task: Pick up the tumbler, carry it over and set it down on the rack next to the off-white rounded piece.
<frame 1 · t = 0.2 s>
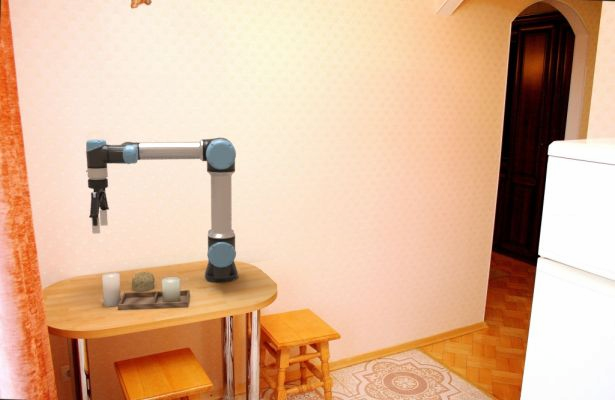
hand: (100, 229, 215), 27 cm above the table, fingers open, 13 cm apart
off-white rounded piece: (171, 301, 209), point 1 cm above the table, touching rack
tumbler: (112, 303, 209), on the table
decorative item: (143, 290, 224), on the table
rack: (155, 304, 208), on the table
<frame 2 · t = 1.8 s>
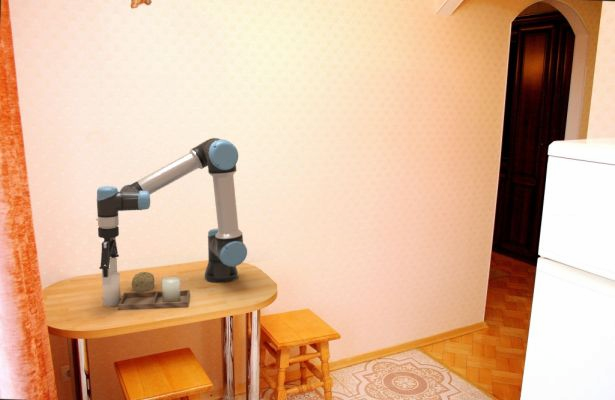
hand: (110, 278, 206), 10 cm above the table, fingers open, 13 cm apart
nothing on the table moved.
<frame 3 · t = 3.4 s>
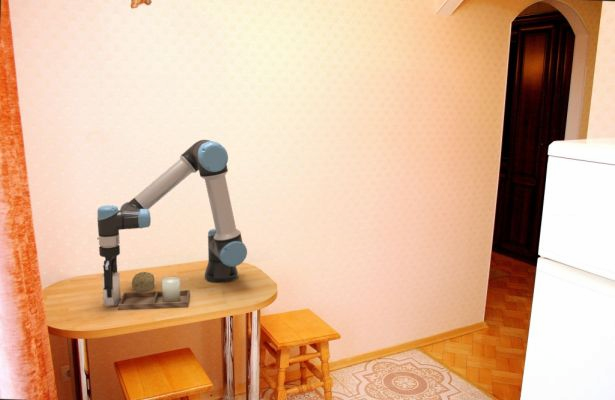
hand: (112, 301, 208), 1 cm above the table, fingers closed on tumbler, 6 cm apart
tumbler: (112, 303, 209), on the table, touching gripper
everything else where it was.
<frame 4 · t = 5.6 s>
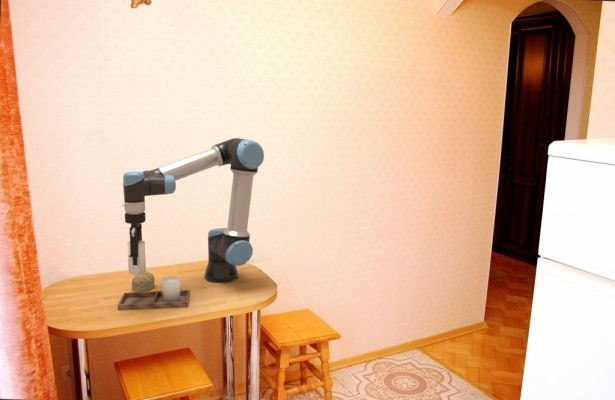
hand: (137, 269, 205), 15 cm above the table, fingers closed on tumbler, 6 cm apart
tumbler: (137, 271, 205), point 14 cm above the table, touching gripper
everything else where it was.
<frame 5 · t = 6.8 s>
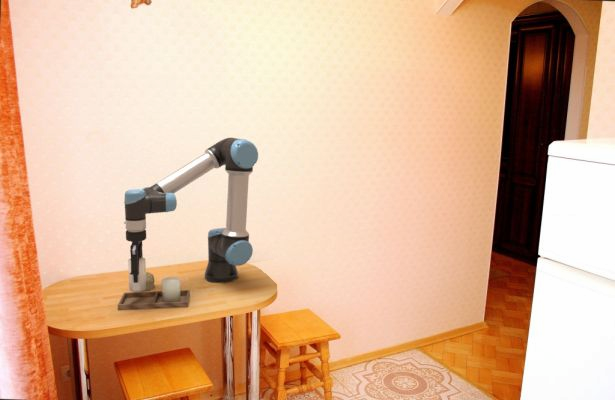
hand: (137, 286, 206), 8 cm above the table, fingers closed on tumbler, 6 cm apart
tumbler: (137, 288, 206), point 7 cm above the table, touching gripper
everything else where it was.
when the fingers open (4 cm above the table, at t = 7.9 s): tumbler drops 2 cm, resting on rack.
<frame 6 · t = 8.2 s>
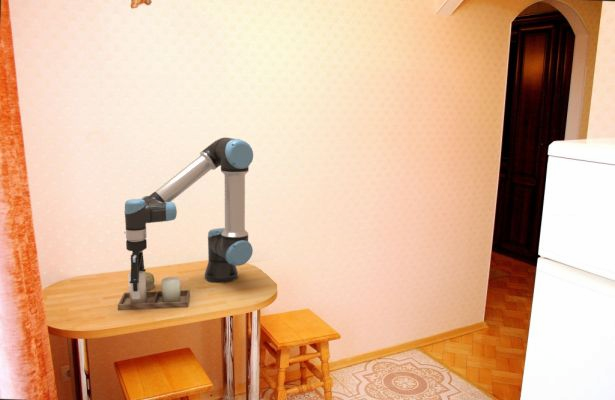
hand: (138, 293, 206), 5 cm above the table, fingers open, 11 cm apart
tumbler: (138, 302, 207), point 1 cm above the table, touching rack
everything else where it was.
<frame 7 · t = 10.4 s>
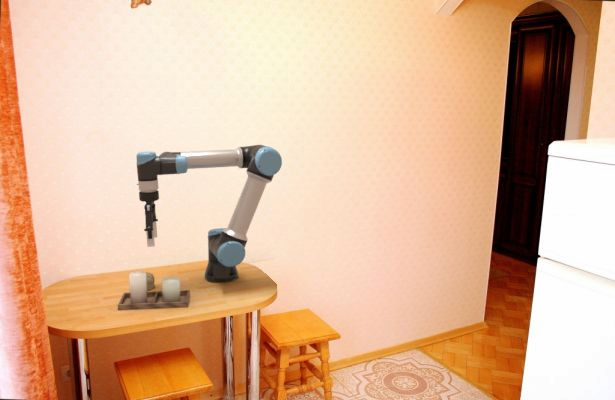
hand: (152, 241, 213), 23 cm above the table, fingers open, 13 cm apart
nothing on the table moved.
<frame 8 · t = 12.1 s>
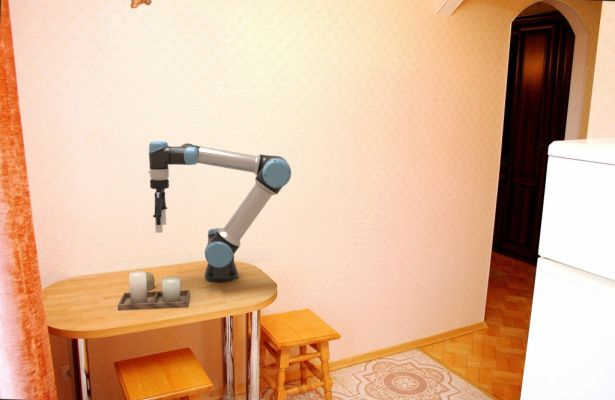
hand: (161, 228, 221), 27 cm above the table, fingers open, 13 cm apart
nothing on the table moved.
at the end: tumbler inside the target area on the rack (0.0 cm from its centre), point 1.0 cm above the rack's base; tumbler tilted 1°; the gripper is holding nothing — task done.
